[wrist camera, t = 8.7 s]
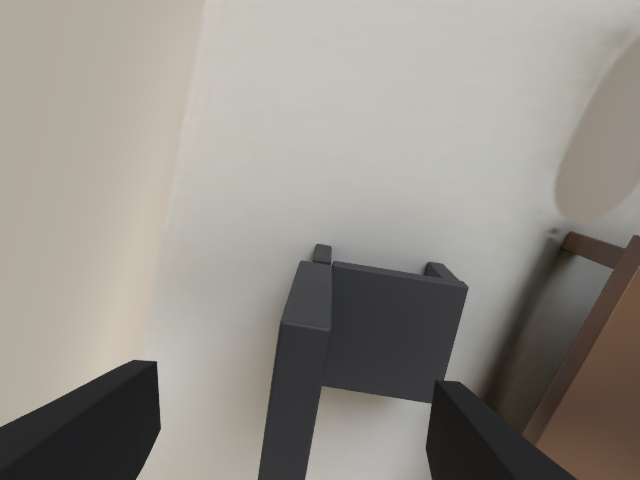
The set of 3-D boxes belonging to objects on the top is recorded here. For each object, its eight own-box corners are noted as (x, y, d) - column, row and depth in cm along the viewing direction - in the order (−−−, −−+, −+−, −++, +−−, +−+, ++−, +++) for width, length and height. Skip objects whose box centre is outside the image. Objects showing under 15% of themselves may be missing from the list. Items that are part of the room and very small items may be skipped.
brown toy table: (579, 517, 19) (651, 624, 14) (434, 472, 18) (465, 567, 14) (735, 275, 16) (887, 321, 11) (564, 216, 15) (653, 239, 11)
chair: (420, 362, 17) (491, 535, 9) (291, 341, 17) (255, 496, 9) (444, 263, 16) (549, 364, 8) (306, 240, 16) (279, 321, 8)
